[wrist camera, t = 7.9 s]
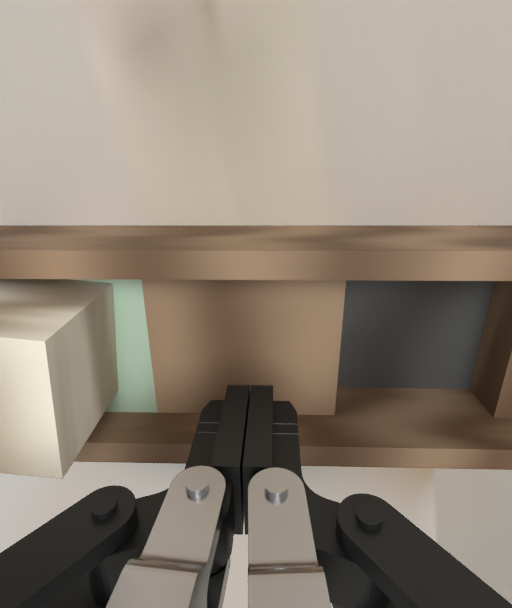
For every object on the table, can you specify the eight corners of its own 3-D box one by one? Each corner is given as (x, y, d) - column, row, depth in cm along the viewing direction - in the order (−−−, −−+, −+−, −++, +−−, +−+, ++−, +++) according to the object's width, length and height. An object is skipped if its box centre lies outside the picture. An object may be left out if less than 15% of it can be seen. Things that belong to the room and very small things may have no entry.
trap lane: (599, 225, 16) (713, 251, 12) (542, 403, 20) (616, 471, 15) (-219, 225, 17) (-374, 249, 13) (-142, 393, 21) (-246, 455, 17)
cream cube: (112, 283, 15) (44, 341, 11) (118, 389, 17) (62, 478, 12) (-13, 271, 15) (-137, 324, 11) (6, 379, 17) (-92, 464, 12)
